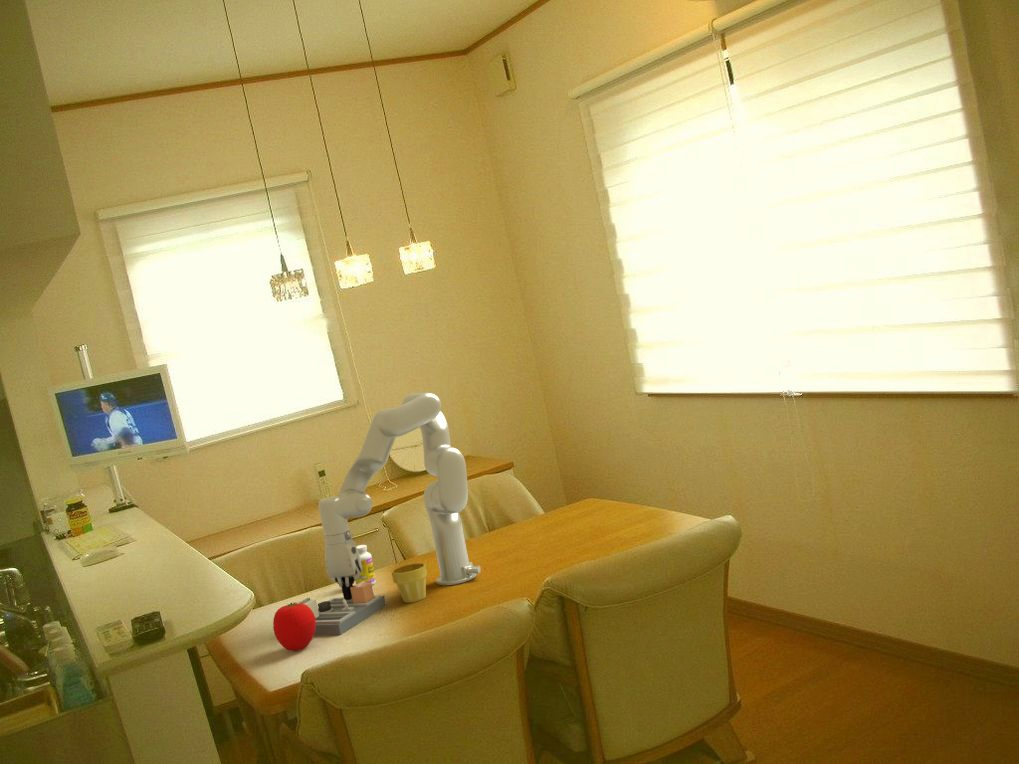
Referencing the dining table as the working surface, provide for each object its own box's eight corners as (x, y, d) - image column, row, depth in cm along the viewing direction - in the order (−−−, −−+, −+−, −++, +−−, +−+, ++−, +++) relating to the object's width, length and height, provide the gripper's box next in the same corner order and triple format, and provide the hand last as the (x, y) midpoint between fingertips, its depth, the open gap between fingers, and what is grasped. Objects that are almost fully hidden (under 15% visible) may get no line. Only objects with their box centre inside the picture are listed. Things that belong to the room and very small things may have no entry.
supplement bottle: (372, 586, 329) (365, 548, 328) (353, 589, 331) (346, 550, 330) (379, 580, 336) (372, 542, 335) (360, 583, 337) (353, 545, 336)
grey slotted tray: (386, 605, 303) (382, 584, 303) (340, 634, 281) (336, 611, 281) (336, 608, 311) (332, 587, 310) (288, 636, 289) (284, 614, 289)
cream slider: (319, 616, 293) (315, 597, 292) (310, 621, 289) (306, 602, 288) (306, 616, 295) (303, 597, 294) (297, 622, 291) (293, 603, 290)
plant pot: (391, 602, 306) (385, 571, 305) (419, 592, 312) (413, 561, 311) (409, 606, 297) (402, 574, 297) (438, 595, 303) (432, 564, 303)
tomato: (269, 657, 272) (260, 611, 272) (292, 642, 283) (283, 598, 282) (305, 655, 268) (296, 608, 267) (326, 640, 278) (317, 595, 278)
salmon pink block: (374, 598, 301) (370, 580, 301) (366, 603, 297) (362, 585, 297) (361, 599, 303) (358, 581, 303) (353, 604, 299) (349, 585, 299)
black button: (333, 607, 298) (332, 600, 298) (326, 611, 295) (325, 604, 295) (323, 607, 300) (322, 601, 300) (316, 611, 297) (315, 605, 297)
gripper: (365, 533, 301) (377, 593, 302) (324, 536, 307) (336, 595, 309) (351, 540, 294) (363, 601, 295) (309, 543, 301) (321, 603, 302)
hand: (349, 598), depth 302 cm, fingers closed
